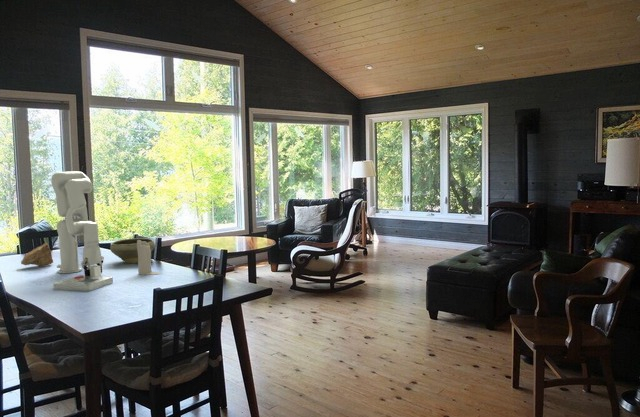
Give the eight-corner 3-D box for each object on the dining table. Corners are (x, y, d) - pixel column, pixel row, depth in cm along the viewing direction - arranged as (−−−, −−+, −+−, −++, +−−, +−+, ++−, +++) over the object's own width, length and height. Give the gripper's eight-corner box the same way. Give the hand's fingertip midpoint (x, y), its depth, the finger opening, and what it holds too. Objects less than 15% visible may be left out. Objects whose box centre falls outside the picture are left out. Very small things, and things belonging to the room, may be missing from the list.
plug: (86, 279, 281) (85, 267, 280) (92, 277, 285) (91, 265, 285) (95, 279, 279) (94, 267, 278) (101, 277, 284) (100, 265, 283)
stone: (53, 263, 329) (51, 241, 328) (54, 266, 321) (52, 243, 319) (21, 267, 320) (19, 243, 318) (21, 269, 311) (19, 246, 310)
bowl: (141, 256, 350) (140, 236, 349) (164, 260, 332) (163, 239, 331) (102, 262, 328) (101, 241, 327) (124, 267, 311) (123, 244, 310)
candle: (158, 275, 287) (156, 240, 285) (136, 274, 290) (134, 240, 288) (164, 272, 294) (162, 238, 292) (142, 271, 297) (141, 238, 295)
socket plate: (53, 289, 259) (53, 281, 259) (78, 281, 277) (78, 274, 276) (89, 291, 254) (89, 283, 253) (112, 282, 271) (112, 275, 270)
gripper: (96, 242, 290) (98, 271, 291) (74, 246, 273) (76, 277, 274) (107, 242, 288) (109, 271, 289) (86, 247, 271) (88, 278, 273)
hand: (93, 274), depth 282 cm, fingers open, 9 cm apart
